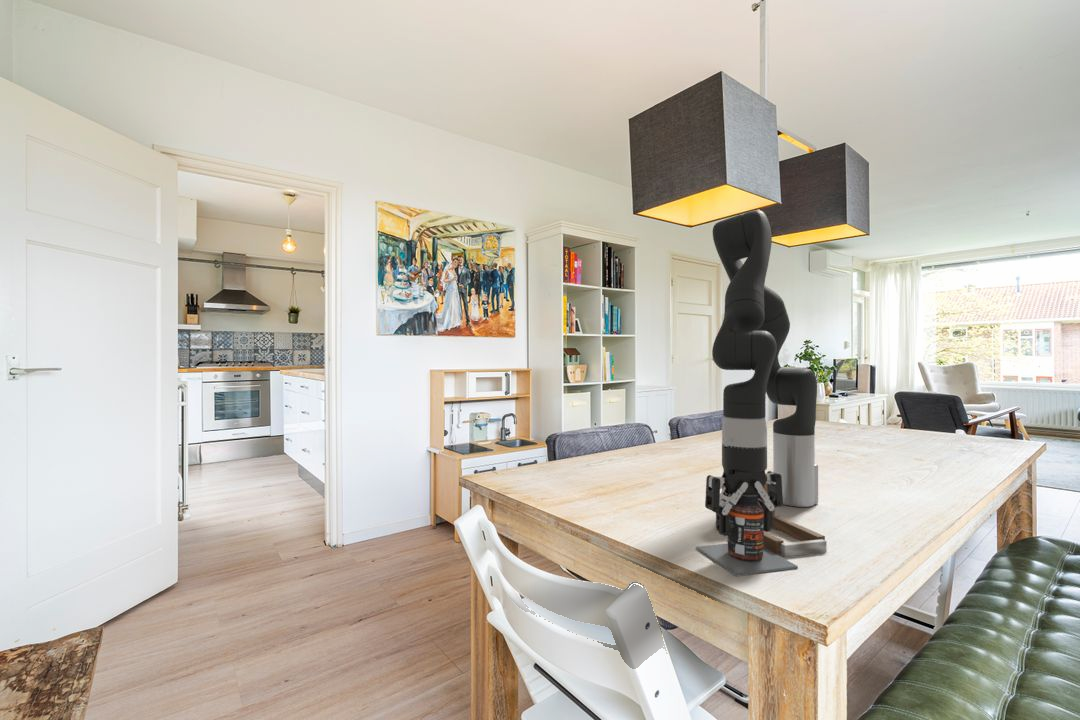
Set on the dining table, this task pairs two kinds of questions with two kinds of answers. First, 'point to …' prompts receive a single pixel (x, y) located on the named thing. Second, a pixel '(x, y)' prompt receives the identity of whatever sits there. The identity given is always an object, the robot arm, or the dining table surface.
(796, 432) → the robot arm
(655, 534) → the dining table surface
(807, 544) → the dispenser
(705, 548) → the plate
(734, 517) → the supplement bottle
